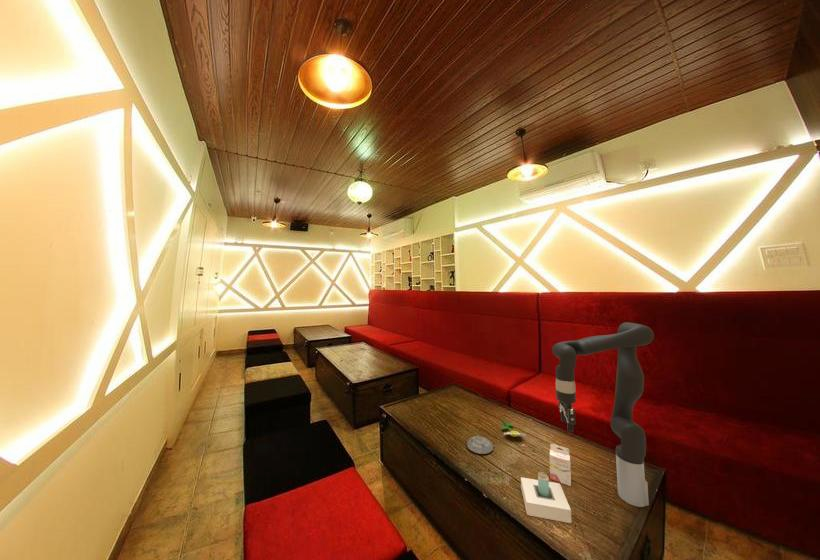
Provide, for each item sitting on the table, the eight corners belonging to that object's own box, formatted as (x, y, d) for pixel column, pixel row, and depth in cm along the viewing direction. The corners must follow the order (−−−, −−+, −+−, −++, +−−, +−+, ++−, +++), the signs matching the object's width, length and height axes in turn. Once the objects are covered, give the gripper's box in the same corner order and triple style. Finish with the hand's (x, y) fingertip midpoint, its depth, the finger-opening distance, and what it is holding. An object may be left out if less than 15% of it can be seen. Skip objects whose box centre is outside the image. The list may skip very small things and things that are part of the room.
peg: (548, 501, 108) (547, 473, 109) (551, 509, 105) (549, 480, 105) (537, 499, 110) (536, 471, 110) (540, 507, 106) (539, 478, 106)
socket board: (560, 495, 112) (559, 483, 112) (571, 523, 98) (571, 509, 99) (521, 488, 116) (520, 477, 116) (526, 515, 102) (526, 501, 103)
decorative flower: (492, 422, 177) (507, 442, 148) (492, 415, 178) (507, 433, 149) (510, 423, 177) (529, 443, 147) (510, 416, 178) (529, 434, 148)
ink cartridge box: (550, 479, 121) (548, 448, 121) (550, 473, 125) (549, 442, 126) (571, 486, 116) (569, 453, 117) (571, 479, 121) (569, 448, 121)
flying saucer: (495, 457, 138) (494, 447, 138) (466, 454, 141) (466, 444, 141) (491, 441, 152) (491, 432, 153) (466, 439, 155) (466, 430, 156)
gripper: (581, 396, 105) (583, 436, 104) (569, 384, 119) (571, 419, 118) (561, 395, 107) (563, 434, 106) (551, 382, 120) (553, 417, 120)
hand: (567, 426), depth 112 cm, fingers open, 8 cm apart
